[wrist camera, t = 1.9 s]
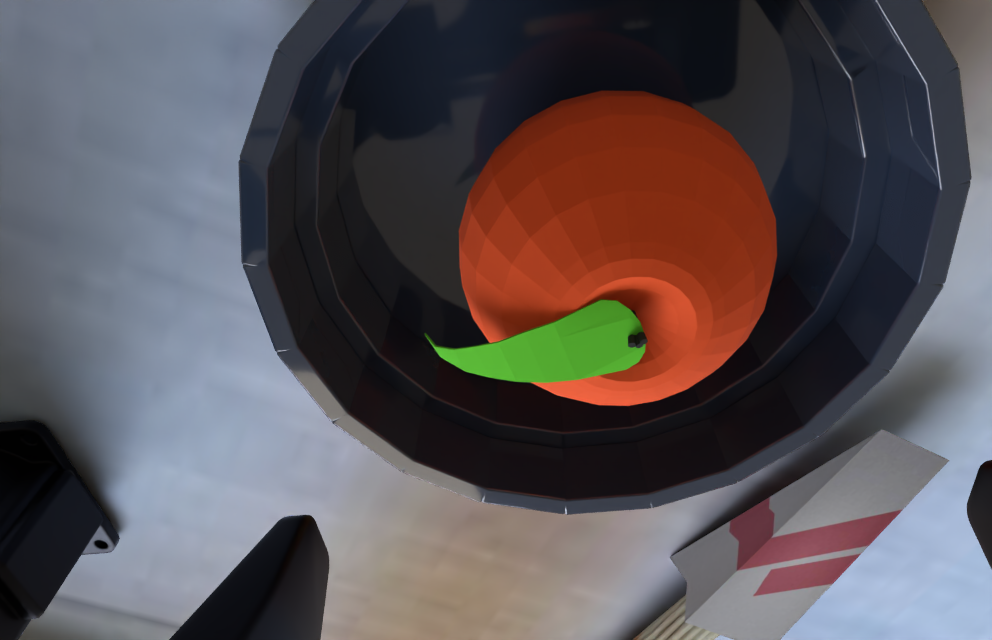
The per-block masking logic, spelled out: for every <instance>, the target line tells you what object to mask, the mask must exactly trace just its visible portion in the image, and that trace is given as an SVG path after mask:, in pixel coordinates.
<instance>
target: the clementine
mask: <svg viewBox="0 0 992 640" xmlns="http://www.w3.org/2000/svg"><path fill="white" fill-rule="evenodd" d="M776 259H777V239H776V218H775V215H774V212H773V210H772V207H771V204H770V202H769V199H768V196H767V193H766V191H765V188H764V185H763V183H762V180H761V178H760V176H759V173H758V171H757V168H756V166H755V164H754V162H753V161H752V160H751V159H750V157H749V156H748V155H747V154H746V152H745V151H744V150H743V149H742V147H741V146H740V145H739V144H738V142H737V141H736V140H735V139H734V137H733V136H732V135H731V134H730V132H728V131H726V130H725V129H723V128H722V127H720V126H719V125H717V124H716V123H714V122H713V121H711V120H710V119H708V118H707V117H705V116H704V115H702V114H701V113H699V112H698V111H696V110H695V109H693V108H691V107H689V106H687V105H685V104H683V103H681V102H678V101H674V100H671V99H668V98H664V97H661V96H658V95H654V94H651V93H648V92H645V91H598V92H594V93H590V94H586V95H582V96H578V97H574V98H570V99H566V100H562V101H560V102H558V103H556V104H554V105H552V106H551V107H549V108H547V109H545V110H543V111H541V112H540V113H538V114H536V115H534V116H532V117H530V118H529V119H527V120H525V121H524V122H523V123H522V124H521V125H520V126H519V127H517V128H516V129H515V130H514V131H513V132H512V133H511V134H510V135H509V136H508V137H507V138H506V139H505V140H504V141H503V142H502V143H501V144H500V145H499V146H497V147H496V148H495V150H494V152H493V153H492V155H491V157H490V158H489V160H488V162H487V163H486V165H485V167H484V168H483V170H482V172H481V173H480V175H479V176H478V178H477V180H476V182H475V183H474V185H473V187H472V189H471V191H470V193H469V195H468V199H467V203H466V206H465V210H464V214H463V217H462V221H461V225H460V228H459V262H460V273H461V281H462V287H463V290H464V293H465V296H466V299H467V302H468V305H469V308H470V311H471V314H472V317H473V319H474V321H475V322H476V324H477V325H478V327H479V328H480V329H481V331H482V332H483V334H484V335H485V337H486V338H487V340H488V341H489V343H487V344H482V345H476V346H470V347H462V348H449V347H443V346H436V345H435V343H434V342H433V341H432V340H431V338H430V337H429V336H428V335H427V334H426V333H425V336H426V337H427V339H428V340H429V341H430V343H431V344H432V346H433V347H434V349H435V350H436V352H437V353H438V354H439V356H440V357H441V358H443V359H444V360H446V361H448V362H450V363H451V364H453V365H455V366H456V367H458V368H460V369H462V370H463V371H465V372H469V373H473V374H477V375H481V376H485V377H489V378H495V379H502V380H508V381H514V382H531V383H533V384H535V385H537V386H539V387H541V388H543V389H545V390H547V391H549V392H551V393H553V394H555V395H557V396H562V397H566V398H570V399H574V400H579V401H583V402H587V403H591V404H596V405H615V406H630V405H636V404H642V403H647V402H653V401H658V400H661V399H664V398H666V397H669V396H671V395H674V394H676V393H679V392H682V391H684V390H687V389H688V388H690V387H691V386H693V385H694V384H696V383H698V382H699V381H701V380H702V379H704V378H705V377H707V376H708V375H710V374H711V373H713V372H714V371H715V370H717V369H718V368H719V367H720V366H722V365H723V364H724V363H725V362H726V361H727V360H728V358H729V357H730V356H731V355H732V354H733V353H734V352H735V351H736V350H737V349H738V348H739V347H740V346H741V345H742V344H743V343H744V342H745V341H746V340H747V338H748V337H749V335H750V333H751V332H752V330H753V328H754V326H755V325H756V323H757V321H758V320H759V318H760V316H761V315H762V313H763V311H764V309H765V305H766V301H767V298H768V294H769V290H770V286H771V283H772V279H773V275H774V269H775V264H776Z"/></svg>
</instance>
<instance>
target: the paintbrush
mask: <svg viewBox="0 0 992 640" xmlns="http://www.w3.org/2000/svg"><path fill="white" fill-rule="evenodd" d="M948 461H949V460H948V459H945V458H943V457H941V456H939V455H937V454H935V453H933V452H930V451H928V450H926V449H924V448H922V447H920V446H917V445H915V444H913V443H911V442H909V441H907V440H904V439H902V438H900V437H898V436H896V435H894V434H892V433H889V432H887V431H885V430H883V429H881V430H880V431H878V432H876V433H875V434H873V435H871V436H870V437H868V438H866V439H865V440H863V441H861V442H860V443H858V444H857V445H855V446H853V447H852V448H850V449H848V450H847V451H845V452H843V453H842V454H840V455H838V456H837V457H835V458H833V459H832V460H830V461H828V462H827V463H825V464H823V465H822V466H820V467H818V468H817V469H815V470H814V471H812V472H810V473H809V474H807V475H805V476H804V477H802V478H800V479H799V480H797V481H795V482H794V483H792V484H790V485H789V486H787V487H785V488H784V489H782V490H780V491H779V492H777V493H775V494H774V495H772V496H771V497H769V498H767V499H766V500H764V501H762V502H761V503H759V504H757V505H756V506H754V507H752V508H751V509H749V510H747V511H746V512H744V513H742V514H741V515H739V516H737V517H736V518H734V519H733V520H731V521H729V522H728V523H726V524H724V525H723V526H721V527H719V528H718V529H716V530H714V531H713V532H711V533H709V534H708V535H706V536H704V537H703V538H701V539H699V540H698V541H696V542H694V543H693V544H691V545H690V546H688V547H686V548H685V549H683V550H681V551H680V552H678V553H676V554H675V555H673V556H671V557H670V558H671V560H672V561H673V563H674V564H675V566H676V567H677V568H678V570H679V571H680V573H681V574H682V576H683V577H684V579H685V580H686V582H687V590H686V595H685V596H684V597H682V598H681V599H680V600H679V601H678V602H677V603H675V604H674V605H673V606H672V607H671V608H669V609H668V610H667V611H666V612H665V613H664V614H662V615H661V616H660V617H659V618H658V619H656V620H655V621H654V622H653V623H652V624H650V625H649V626H648V627H647V628H646V629H645V630H643V631H642V632H641V633H640V634H639V635H638V636H636V637H635V638H634V639H633V640H714V639H715V638H717V637H718V636H719V635H722V636H725V637H728V638H731V639H734V640H780V639H781V638H782V637H783V636H784V635H785V634H786V633H787V632H788V631H789V630H790V628H791V627H792V626H793V625H794V624H795V623H796V622H797V621H798V620H799V619H800V618H801V617H802V616H803V615H804V614H805V613H806V612H807V610H808V609H809V608H810V607H811V606H812V605H813V604H814V603H815V602H816V601H817V600H818V599H819V598H820V597H821V596H822V595H823V594H824V592H825V591H826V590H827V589H828V588H829V587H830V586H831V585H832V584H833V583H834V582H835V581H836V580H837V579H838V578H839V577H840V576H841V574H842V573H843V572H844V571H845V570H846V569H847V568H848V567H849V566H850V565H851V564H852V563H853V562H854V561H855V560H856V559H857V558H858V556H859V555H860V554H861V553H862V552H863V551H864V550H865V549H866V548H867V547H868V546H869V545H870V544H871V543H872V542H873V541H874V540H875V538H876V537H877V536H878V535H879V534H880V533H881V532H882V531H883V530H884V529H885V528H886V527H887V526H888V525H889V524H890V523H891V522H892V520H893V519H894V518H895V517H896V516H897V515H898V514H899V513H900V512H901V511H902V510H903V509H904V508H905V507H906V506H907V505H908V504H909V502H910V501H911V500H912V499H913V498H914V497H915V496H916V495H917V494H918V493H919V492H920V491H921V490H922V489H923V488H924V487H925V486H926V484H927V483H928V482H929V481H930V480H931V479H932V478H933V477H934V476H935V475H936V474H937V473H938V472H939V471H940V470H941V469H942V468H943V466H944V465H945V464H946V463H947V462H948Z"/></svg>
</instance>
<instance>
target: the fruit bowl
mask: <svg viewBox="0 0 992 640" xmlns="http://www.w3.org/2000/svg"><path fill="white" fill-rule="evenodd" d="M598 91H645V92H648V93H651V94H654V95H658V96H661V97H664V98H668V99H671V100H674V101H678V102H681V103H683V104H685V105H687V106H689V107H691V108H693V109H695V110H696V111H698V112H699V113H701V114H702V115H704V116H705V117H707V118H708V119H710V120H711V121H713V122H714V123H716V124H717V125H719V126H720V127H722V128H723V129H725V130H726V131H728V132H730V134H731V135H732V136H733V137H734V139H735V140H736V141H737V142H738V144H739V145H740V146H741V147H742V149H743V150H744V151H745V152H746V154H747V155H748V156H749V157H750V159H751V160H752V161H753V162H754V164H755V166H756V168H757V171H758V173H759V176H760V178H761V180H762V183H763V185H764V188H765V191H766V193H767V196H768V199H769V202H770V204H771V207H772V210H773V212H774V215H775V218H776V239H777V259H776V264H775V269H774V275H773V279H772V283H771V286H770V290H769V294H768V298H767V301H766V305H765V309H764V311H763V313H762V315H761V316H760V318H759V320H758V321H757V323H756V325H755V326H754V328H753V330H752V332H751V333H750V335H749V337H748V338H747V340H746V341H745V342H744V343H743V344H742V345H741V346H740V347H739V348H738V349H737V350H736V351H735V352H734V353H733V354H732V355H731V356H730V357H729V358H728V360H727V361H726V362H725V363H724V364H723V365H722V366H720V367H719V368H718V369H717V370H715V371H714V372H713V373H711V374H710V375H708V376H707V377H705V378H704V379H702V380H701V381H699V382H698V383H696V384H694V385H693V386H691V387H690V388H688V389H687V390H684V391H682V392H679V393H676V394H674V395H671V396H669V397H666V398H664V399H661V400H658V401H653V402H647V403H642V404H636V405H630V406H615V405H596V404H591V403H587V402H583V401H579V400H574V399H570V398H566V397H562V396H557V395H555V394H553V393H551V392H549V391H547V390H545V389H543V388H541V387H539V386H537V385H535V384H533V383H531V382H514V381H508V380H502V379H495V378H489V377H485V376H481V375H477V374H473V373H469V372H465V371H463V370H462V369H460V368H458V367H456V366H455V365H453V364H451V363H450V362H448V361H446V360H444V359H443V358H441V357H440V356H439V354H438V353H437V352H436V350H435V349H434V347H433V346H432V344H431V343H430V341H429V340H428V339H427V337H426V336H425V333H426V334H427V335H428V336H429V337H430V338H431V340H432V341H433V342H434V343H435V345H436V346H443V347H449V348H462V347H470V346H476V345H482V344H487V343H489V341H488V340H487V338H486V337H485V335H484V334H483V332H482V331H481V329H480V328H479V327H478V325H477V324H476V322H475V321H474V319H473V317H472V314H471V311H470V308H469V305H468V302H467V299H466V296H465V293H464V290H463V287H462V281H461V273H460V262H459V228H460V225H461V221H462V217H463V214H464V210H465V206H466V203H467V199H468V195H469V193H470V191H471V189H472V187H473V185H474V183H475V182H476V180H477V178H478V176H479V175H480V173H481V172H482V170H483V168H484V167H485V165H486V163H487V162H488V160H489V158H490V157H491V155H492V153H493V152H494V150H495V148H496V147H497V146H499V145H500V144H501V143H502V142H503V141H504V140H505V139H506V138H507V137H508V136H509V135H510V134H511V133H512V132H513V131H514V130H515V129H516V128H517V127H519V126H520V125H521V124H522V123H523V122H524V121H525V120H527V119H529V118H530V117H532V116H534V115H536V114H538V113H540V112H541V111H543V110H545V109H547V108H549V107H551V106H552V105H554V104H556V103H558V102H560V101H562V100H566V99H570V98H574V97H578V96H582V95H586V94H590V93H594V92H598ZM970 180H971V170H970V161H969V152H968V143H967V134H966V125H965V116H964V107H963V98H962V89H961V80H960V71H959V67H958V63H957V61H956V60H955V58H954V56H953V54H952V53H951V51H950V49H949V47H948V46H947V44H946V42H945V40H944V39H943V37H942V35H941V33H940V32H939V30H938V28H937V26H936V25H935V23H934V21H933V19H932V18H931V16H930V14H929V12H928V11H927V9H926V7H925V5H924V4H923V2H922V0H314V1H313V3H312V4H311V5H310V6H309V7H308V9H307V10H306V11H305V12H304V14H303V15H302V16H301V17H300V19H299V20H298V21H297V22H296V23H295V25H294V26H293V27H292V28H291V30H290V31H289V32H288V33H287V35H286V36H285V37H284V38H283V39H282V41H281V42H280V43H279V44H278V49H276V50H275V53H274V56H273V58H272V61H271V64H270V67H269V70H268V73H267V76H266V79H265V82H264V85H263V88H262V91H261V94H260V97H259V100H258V103H257V106H256V109H255V112H254V115H253V118H252V121H251V124H250V127H249V130H248V133H247V136H246V139H245V142H244V145H243V148H242V151H241V154H240V160H239V193H240V226H241V259H242V264H243V268H244V270H245V273H246V276H247V278H248V281H249V283H250V286H251V289H252V291H253V294H254V296H255V299H256V302H257V304H258V307H259V310H260V312H261V315H262V317H263V320H264V323H265V325H266V328H267V330H268V333H269V336H270V338H271V341H272V343H273V346H274V349H275V351H276V352H277V355H278V356H279V357H280V359H281V360H282V361H283V362H284V364H285V365H286V366H287V367H288V369H289V370H290V371H291V372H292V374H293V375H294V376H295V377H296V379H297V380H298V381H299V382H300V384H301V385H302V386H303V387H304V389H305V390H306V391H307V392H308V394H309V395H310V396H311V397H312V399H313V400H314V401H315V402H316V404H317V405H318V406H319V407H320V409H321V410H322V411H323V412H324V414H325V415H326V416H327V417H328V419H329V420H330V421H332V423H333V424H334V425H336V426H337V427H339V428H340V429H341V430H343V431H344V432H346V433H347V434H349V435H350V436H351V437H353V438H354V439H356V440H357V441H358V442H360V443H361V444H363V445H364V446H365V447H367V448H368V449H370V450H371V451H372V452H374V453H375V454H377V455H378V456H379V457H381V458H382V459H384V460H385V461H387V462H388V463H389V464H391V465H392V466H394V467H395V468H396V469H398V470H399V471H402V472H403V473H405V474H407V475H410V476H413V477H415V478H418V479H420V480H423V481H426V482H428V483H431V484H433V485H436V486H438V487H441V488H444V489H446V490H449V491H451V492H454V493H457V494H459V495H462V496H464V497H467V498H469V499H472V500H475V501H477V502H481V501H482V502H483V503H488V504H495V505H502V506H509V507H516V508H523V509H530V510H537V511H544V512H551V513H558V514H567V515H568V514H582V513H595V512H608V511H621V510H635V509H648V508H651V507H652V508H654V507H658V506H661V505H664V504H668V503H671V502H675V501H678V500H681V499H685V498H688V497H691V496H695V495H698V494H702V493H705V492H708V491H712V490H715V489H718V488H722V487H725V486H728V485H732V484H735V483H737V481H738V482H739V481H741V480H743V479H745V478H747V477H748V476H750V475H752V474H754V473H756V472H757V471H759V470H761V469H763V468H765V467H766V466H768V465H770V464H772V463H774V462H775V461H777V460H779V459H781V458H783V457H784V456H786V455H788V454H790V453H791V452H793V451H795V450H797V449H799V448H800V447H802V446H804V445H806V444H808V443H809V442H811V441H813V440H815V439H817V437H818V436H821V435H822V434H823V433H824V432H825V431H827V430H828V429H829V428H830V427H831V426H832V425H833V424H834V423H835V422H836V421H837V420H839V419H840V418H841V417H842V416H843V415H844V414H845V413H846V412H847V411H848V410H849V409H850V408H852V407H853V406H854V405H855V404H856V403H857V402H858V401H859V400H860V399H861V398H862V397H863V396H865V395H866V394H867V393H868V392H869V391H870V390H871V389H872V388H873V387H874V386H875V385H876V384H878V383H879V382H880V381H881V380H882V379H883V378H884V377H885V376H886V375H887V374H888V373H889V372H890V371H889V370H891V369H892V368H893V366H894V365H895V363H896V362H897V360H898V358H899V357H900V355H901V354H902V352H903V350H904V349H905V347H906V346H907V344H908V343H909V341H910V339H911V338H912V336H913V335H914V333H915V331H916V330H917V328H918V327H919V325H920V323H921V322H922V320H923V319H924V317H925V315H926V314H927V312H928V311H929V309H930V307H931V306H932V304H933V303H934V301H935V299H936V298H937V296H938V295H939V293H940V291H941V290H942V288H943V284H944V283H945V281H946V277H947V273H948V269H949V265H950V262H951V258H952V254H953V250H954V246H955V242H956V238H957V234H958V230H959V226H960V222H961V218H962V215H963V211H964V207H965V203H966V199H967V195H968V191H969V187H970Z"/></svg>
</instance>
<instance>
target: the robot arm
mask: <svg viewBox="0 0 992 640" xmlns="http://www.w3.org/2000/svg"><path fill="white" fill-rule="evenodd" d="M967 515H968V518H969V521H970V524H971V526H972V528H973V530H974V533H975V535H976V537H977V539H978V541H979V543H980V545H981V548H982V550H983V552H984V554H985V556H986V558H987V560H988V562H989V565H990V567H991V569H992V460H989V461H986V462H984V463H983V464H982V465H981V466H980V468H979V470H978V473H977V476H976V479H975V482H974V485H973V488H972V490H971V493H970V496H969V499H968V502H967ZM119 539H120V538H119V536H118V534H117V532H116V531H115V529H114V528H113V526H112V525H111V523H110V522H109V520H108V519H107V517H106V516H105V514H104V513H103V511H102V510H101V508H100V506H99V505H98V503H97V502H96V500H95V499H94V497H93V496H92V494H91V493H90V491H89V490H88V488H87V487H86V485H85V484H84V482H83V481H82V479H81V478H80V476H79V475H78V473H77V471H76V470H75V468H74V467H73V465H72V464H71V462H70V461H69V459H68V458H67V456H66V455H65V453H64V452H63V450H62V449H61V447H60V446H59V444H58V443H57V441H56V440H55V438H54V436H53V435H52V433H51V432H50V430H49V429H48V428H47V427H46V426H45V425H43V424H41V423H39V422H36V421H19V422H8V423H0V640H18V639H19V638H20V636H21V634H22V633H23V631H24V630H25V628H26V627H27V625H28V624H29V622H30V621H31V619H36V618H39V617H40V616H41V615H42V614H43V613H44V611H45V610H46V608H47V607H48V605H49V604H50V602H51V601H52V599H53V598H54V596H55V594H56V593H57V591H58V590H59V588H60V587H61V585H62V584H63V582H64V581H65V579H66V577H67V576H68V574H69V573H70V571H71V570H72V568H73V567H74V565H75V564H76V562H77V561H78V559H79V557H80V556H81V555H85V554H98V553H108V552H112V551H113V550H114V548H115V547H116V545H117V543H118V542H119ZM328 574H329V555H328V551H327V548H326V546H325V543H324V541H323V539H322V536H321V534H320V531H319V529H318V526H317V524H316V522H315V520H314V518H313V517H312V516H310V515H299V516H287V517H284V518H282V519H281V520H279V521H278V522H277V523H276V524H275V525H274V526H273V528H272V529H271V530H270V531H269V532H268V533H267V534H266V535H265V536H264V537H263V538H262V539H261V541H260V542H259V543H258V544H257V545H256V546H255V547H254V548H253V549H252V550H251V551H250V553H249V554H248V555H247V556H246V557H245V558H244V559H243V560H242V561H241V562H240V563H239V564H238V566H237V567H236V568H235V569H234V570H233V571H232V572H231V573H230V574H229V575H228V576H227V577H226V579H225V580H224V581H223V582H222V583H221V584H220V585H219V586H218V587H217V588H216V589H215V591H214V592H213V593H212V594H211V595H210V596H209V597H208V598H207V599H206V600H205V601H204V602H203V604H202V605H201V606H200V607H199V608H198V609H197V610H196V611H195V612H194V613H193V614H192V615H191V617H190V618H189V619H188V620H187V621H186V622H185V623H184V624H183V625H182V626H181V627H180V629H179V630H178V631H177V632H176V633H175V634H174V635H173V636H172V637H171V638H170V639H169V640H320V639H321V630H322V622H323V614H324V606H325V598H326V590H327V582H328Z"/></svg>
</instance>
